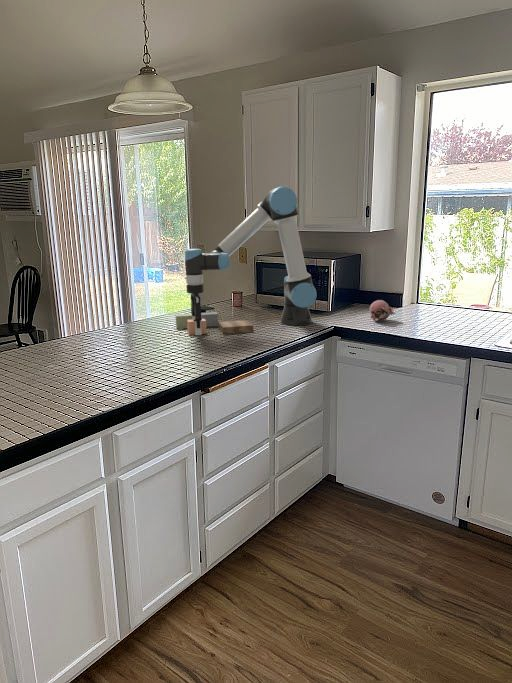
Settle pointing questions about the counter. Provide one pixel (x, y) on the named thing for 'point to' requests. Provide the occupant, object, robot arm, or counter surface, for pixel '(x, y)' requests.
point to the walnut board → (235, 326)
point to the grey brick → (210, 318)
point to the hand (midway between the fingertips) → (197, 332)
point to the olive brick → (182, 320)
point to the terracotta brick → (192, 326)
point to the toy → (380, 310)
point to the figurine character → (204, 308)
